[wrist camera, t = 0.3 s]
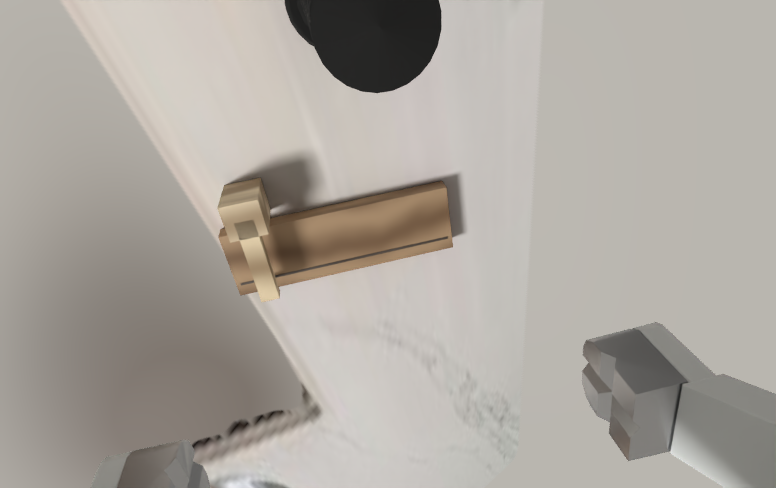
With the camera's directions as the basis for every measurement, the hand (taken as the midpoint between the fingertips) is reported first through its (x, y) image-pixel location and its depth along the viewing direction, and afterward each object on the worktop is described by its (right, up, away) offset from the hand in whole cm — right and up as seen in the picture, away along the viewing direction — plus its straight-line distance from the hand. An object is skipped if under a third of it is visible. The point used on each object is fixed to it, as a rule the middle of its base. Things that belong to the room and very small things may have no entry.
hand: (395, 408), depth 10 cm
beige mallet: (-15, +5, +48) cm, 51 cm away
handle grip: (-5, +27, +38) cm, 47 cm away
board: (-6, +4, +50) cm, 51 cm away
